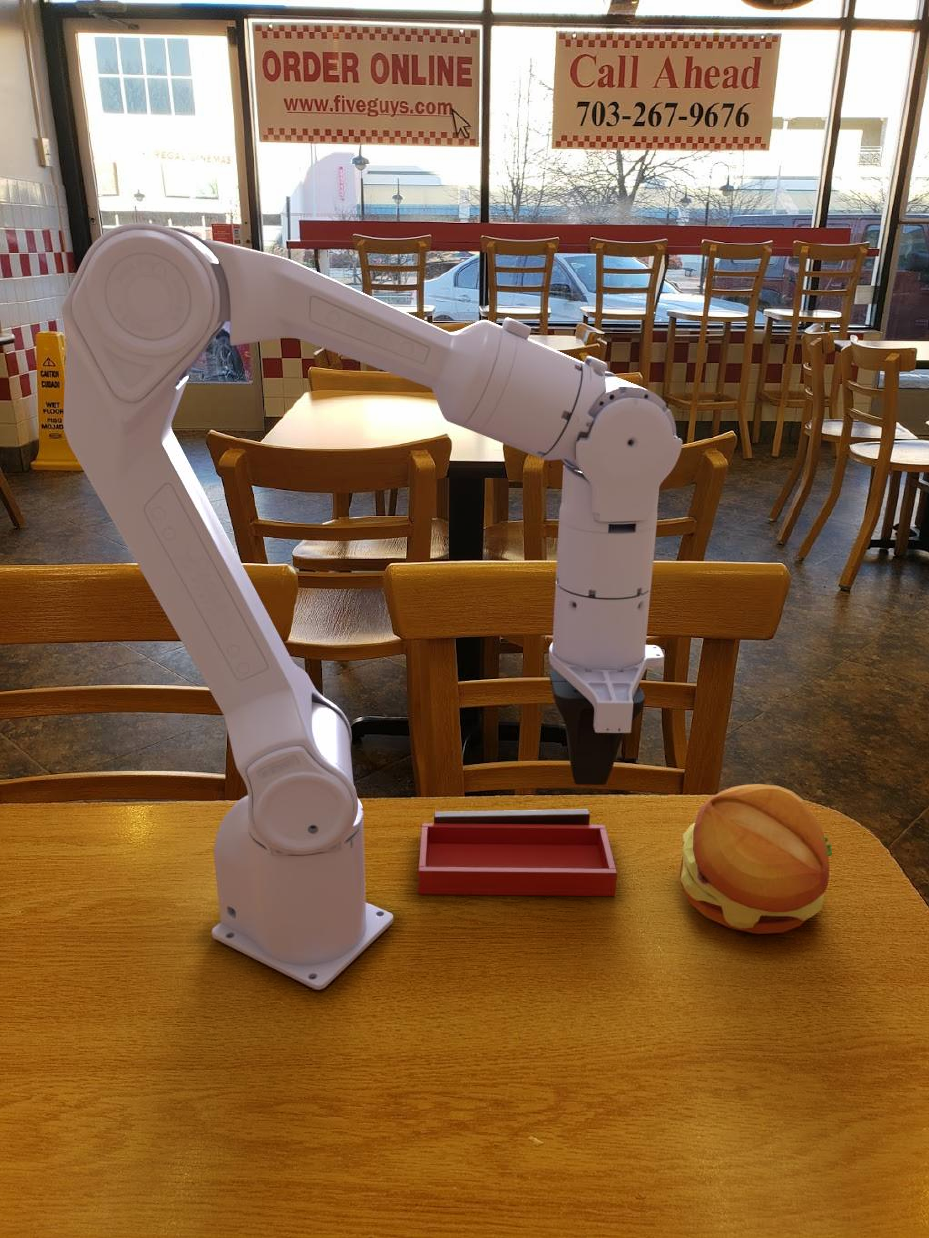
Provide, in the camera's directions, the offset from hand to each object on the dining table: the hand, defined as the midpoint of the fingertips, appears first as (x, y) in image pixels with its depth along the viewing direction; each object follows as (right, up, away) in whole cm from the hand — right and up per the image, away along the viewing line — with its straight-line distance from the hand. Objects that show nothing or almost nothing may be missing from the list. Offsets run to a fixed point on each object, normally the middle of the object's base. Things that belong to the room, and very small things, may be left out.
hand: (589, 779), depth 62 cm
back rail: (-5, -7, +11) cm, 14 cm away
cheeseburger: (+12, -10, +5) cm, 16 cm away
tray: (-4, -8, +8) cm, 12 cm away
